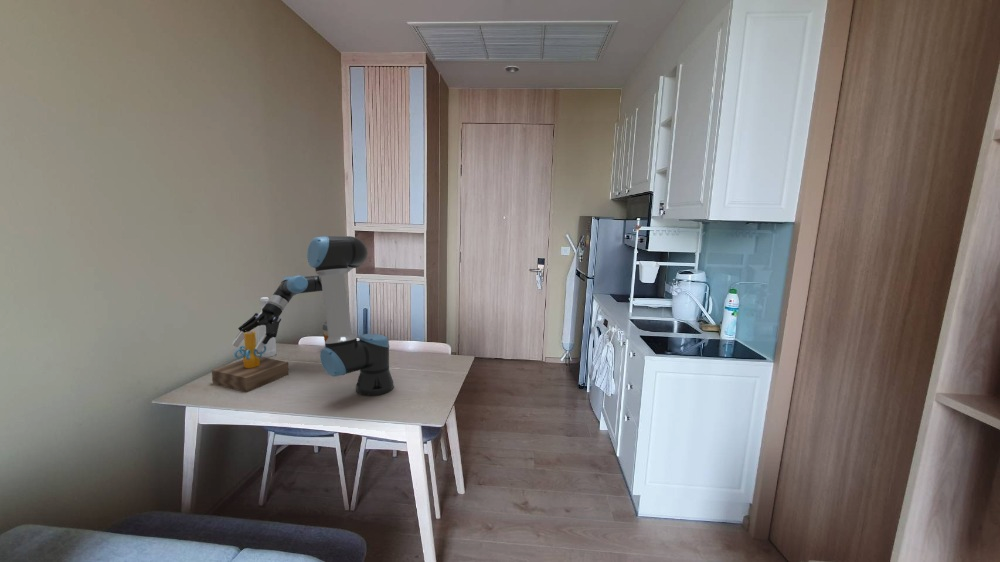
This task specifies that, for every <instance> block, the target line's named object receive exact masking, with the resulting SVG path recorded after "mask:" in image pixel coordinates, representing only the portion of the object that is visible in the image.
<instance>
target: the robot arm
mask: <svg viewBox="0 0 1000 562" xmlns="http://www.w3.org/2000/svg"><path fill="white" fill-rule="evenodd" d="M368 254H369V253H368V248H367V246H366V244H365V243H364V241H363V240H361V239H359V238H358V237H355V236H342V235H341V236H334V235H333V236H331V235H325V236H316V237H314V238H312V239H311V241H309V245H308V247H307V254H306V256H307V257H306V258H307V262H308V264H309V266H310V267H311V268H313V269H314V270H315V273H316V275H310V276H303V275H294V276H286V277H284V279H282V281H280V284H279V286H278V287H277V288H276V290H275V291H274V293H273V294H272V295H271V296H270V298H269V300H268V302H267V304H266V305H265V306H264V307H263V309H262V314H260V315H259V313H258V312H255V313H254V314H253V315H252V317H250V318H249V319H248V320H247V321H245V322H244V323H243V324H241V325H240V326H239V327H238V330H239V331H240V332H239V333H238V334H237V335H236V337H235V339H234V340H233V342H232V343H231V345H232V346H234V347H235V348H238V347H239V346H240V345H241V343H242V342H243V340H244V333H245V332H249V331H253V330H254V329H255V328H256V329H257V326H261V325H265V326H266V334H265V335H264V336H263V337H262V339H261V340H260V342H259V343H258V342H257V344H256V348H255V349H256V350H258V351H259V352H261V350H262V349H263V347H264V346H265V344H267V343H268V341H269V340H270V338H272V337H274V338H275V339H276V338H277V335H278V330H279V326H280V323H281V321H282V318H281V317H280V316H281V314H282V313H283V311H284V310H285V309H286V308H287V305H288V304H289V302H290V301H291V300H292V298H294V296H296V295H299V294H307V293H315V292H322V298H323V304H324V313H325V320H326V321H325V322H327V330H328V339H327V340H326V342H325V341H324V346H325V347H323V348H322V349H321V350H320V355H319V359H320V362H321V366H322V367H323V369H324V370H325V372H326V374H328V375H329V376H331V377H339V376H345V375H347V374H350V373H354V372H357V371H360V372H359V374H358V378H357V381H356V384H355V390H356V392H357V393H358V394H360V395H362V396H367V395H368V396H369V397H370V396H380V395H384V394H387V393H389V392H391V391H392V390H393V389H394V386H395V385H394V379H393V378H392V374H391V371H390V341H389V338H388V337H387V336H385V335H383V334H378V333H365V334H364V333H362V334H361V335H359V338H358V339H357V336H356V335H354V334H353V332H352V325H351V317H350V309H349V307H350V306H349V302H348V301H349V300H348V292H347V286H346V285H347V284H346V277H345V276H346V275H347V274H348V273H349V272H350V271H352V270H353V269H357V268H359V267H360V266H363V264H364V263H365V261H366V260H367V258H368Z"/></svg>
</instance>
